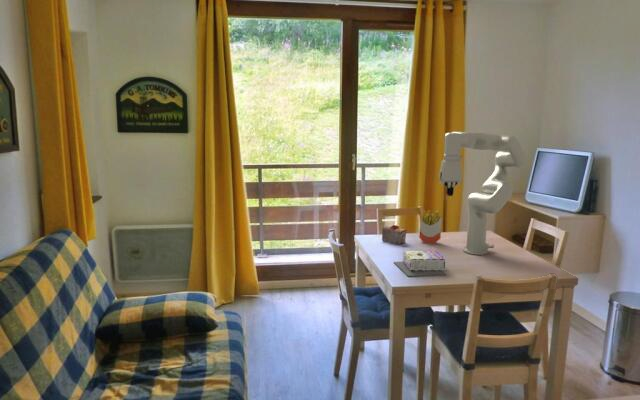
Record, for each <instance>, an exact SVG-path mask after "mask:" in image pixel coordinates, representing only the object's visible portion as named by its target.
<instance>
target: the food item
mask: <svg viewBox="0 0 640 400" xmlns="http://www.w3.org/2000/svg"><path fill="white" fill-rule="evenodd" d="M381 231H382V232H381V233H382V235H381V240H382V242H387V243H389V244H395V245H403V244H406V239H407V237H406V236H407V229H403V228H400V226H399V225H397V224H396V225H394V224H393V225H391V226H390V225H385V226H383V227H382V229H381Z"/></svg>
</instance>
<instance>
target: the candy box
mask: <svg viewBox="0 0 640 400" xmlns="http://www.w3.org/2000/svg"><path fill="white" fill-rule="evenodd" d="M402 253H403V256H402V258H403V259H402V262H404V263H405V265H406V266H407V267H408V269H409V270H410V271H443V272H445V268H446V258H444V257H443V256H442V255H441V253H439V252H438V251H437V250H403V252H402Z"/></svg>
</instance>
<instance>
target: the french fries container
mask: <svg viewBox="0 0 640 400" xmlns="http://www.w3.org/2000/svg"><path fill="white" fill-rule="evenodd" d="M439 214H440V213H439V211H438V210H437V211H435V210H433V211H432V213H431V210H429V209H428V210H427V211H426V210H422V215H421V216H420V217H421V218H420V225H419V235H418V236H419V239H420V240H421V241H422V243H426V244H430V245H431V244H432V245H434V244H436V243H437V242H438V241H439V240H441V238H442V237H441V232H442V215H439Z"/></svg>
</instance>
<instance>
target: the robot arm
mask: <svg viewBox="0 0 640 400" xmlns="http://www.w3.org/2000/svg"><path fill="white" fill-rule="evenodd" d="M521 144H522V143H520V141H519V140H518V138H517V137H515V136H514V135H510V134H509V135H507V134H496V133H487V132H485V133H484V132H470V131H469V132H468V131H452V132H447V133H445V135H444V149H443V151H444V152H443V160H441V162H440V163H441V164H440V168H439V176H438V178H439V184H442V185H444V186H445V188H446V190H445V191H446V195H447V196H448V197H454V196H453V195H454V188H455V187H456V186H457V185H460V184H461V183H462V179H463V178H462V177H463V171H462V170H463V169H462V161H461V160H462V159H463V155H461V148H465V149H466V148H467V149H472V150H479V151H490V152H491V151H493V152H496V154H495V156H494V170H493V172H492V174H491V175H490V176H489V177H488V178H487V179H486V180H485V181H484V182H483V184H482V185H481V188H480V191H481V192H480V191H479V192H478V191H475V192H472V193H470V194H469V195H468V197H467V199H466V201H467V202H466V204H467V215H468V217H467V228H466V229H467V232H466V246H465V247H463V248H462V251H463V252H464V253H466V254H470V255H476V256H477V255H478V256H479V255H480V256H481V255H488V253H489V249H494V248H495V245H494V244H490V243H487V230H488V228H487V226H488V216H487V214H493V215H494V214H497V213H499V211H500V210H501V209H503V207H504V206H505V205H506V203H508V201H510V198H511V197H512V195H513V192H514V187H513V184H512V183H511V182H509V179H510V175H509V170H508V168H516V169H521V168H523V167H524V166H526V165H527V160H528V157H527V153H526V152H525V150H524V148H523V146H522V145H521Z"/></svg>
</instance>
